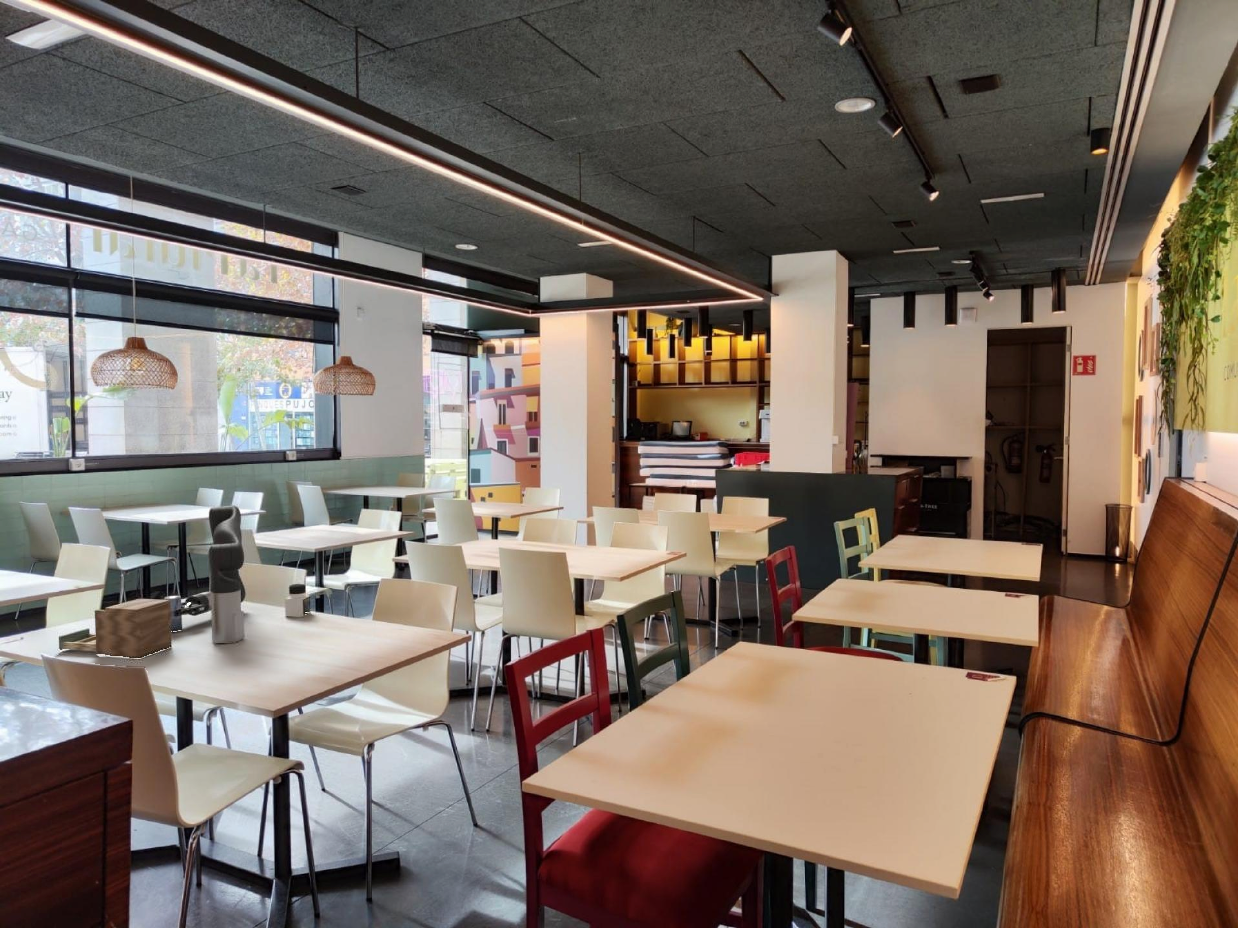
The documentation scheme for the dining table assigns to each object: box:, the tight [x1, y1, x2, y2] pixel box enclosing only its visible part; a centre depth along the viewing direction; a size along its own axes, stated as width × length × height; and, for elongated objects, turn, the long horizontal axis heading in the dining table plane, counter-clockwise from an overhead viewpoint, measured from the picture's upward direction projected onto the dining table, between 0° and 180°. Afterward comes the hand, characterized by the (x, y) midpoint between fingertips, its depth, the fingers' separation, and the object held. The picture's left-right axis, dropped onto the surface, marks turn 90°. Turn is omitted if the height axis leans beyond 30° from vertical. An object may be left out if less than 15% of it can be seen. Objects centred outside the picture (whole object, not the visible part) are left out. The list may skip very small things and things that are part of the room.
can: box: [163, 595, 183, 632], centre depth 301 cm, size 5×5×12 cm
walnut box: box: [94, 598, 173, 659], centre depth 274 cm, size 16×14×16 cm
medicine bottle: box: [284, 583, 311, 617], centre depth 325 cm, size 7×7×12 cm
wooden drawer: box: [58, 628, 96, 652], centre depth 278 cm, size 17×11×5 cm, turn 77°
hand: (167, 613), depth 299 cm, fingers closed on can, 5 cm apart
